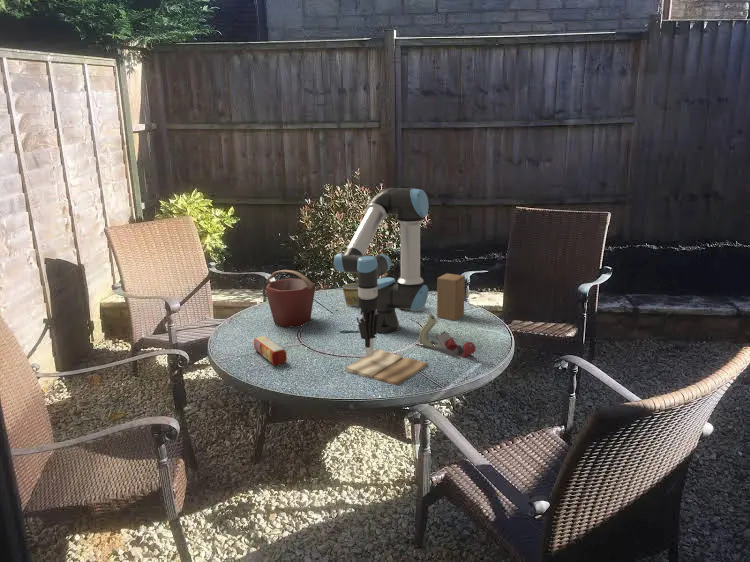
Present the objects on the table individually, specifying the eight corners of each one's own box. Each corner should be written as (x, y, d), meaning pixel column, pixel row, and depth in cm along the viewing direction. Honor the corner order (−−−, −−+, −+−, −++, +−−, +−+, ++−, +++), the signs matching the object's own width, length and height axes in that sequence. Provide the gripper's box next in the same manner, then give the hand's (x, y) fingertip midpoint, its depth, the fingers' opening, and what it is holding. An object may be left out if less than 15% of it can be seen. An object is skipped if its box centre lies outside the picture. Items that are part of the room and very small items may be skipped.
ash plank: (345, 371, 242) (345, 367, 241) (377, 353, 260) (377, 349, 259) (373, 381, 235) (373, 376, 235) (404, 361, 253) (404, 357, 252)
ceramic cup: (355, 308, 321) (354, 289, 318) (339, 305, 326) (338, 287, 324) (369, 302, 331) (368, 283, 329) (353, 299, 337) (353, 281, 334)
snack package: (253, 351, 267) (252, 336, 266) (267, 347, 271) (266, 333, 269) (272, 367, 250) (271, 351, 248) (288, 364, 253) (287, 348, 251)
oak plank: (374, 381, 235) (374, 376, 234) (405, 362, 252) (405, 357, 252) (397, 387, 229) (397, 382, 229) (427, 367, 247) (427, 362, 246)
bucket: (258, 321, 304) (255, 271, 297) (294, 310, 319) (291, 262, 313) (291, 332, 288) (288, 280, 281) (327, 320, 303) (325, 270, 297)
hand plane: (424, 340, 276) (424, 308, 272) (479, 360, 253) (480, 325, 249) (412, 344, 272) (412, 311, 268) (467, 365, 249) (468, 329, 245)
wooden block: (464, 315, 308) (465, 275, 303) (455, 320, 300) (456, 280, 295) (445, 311, 313) (446, 273, 308) (436, 317, 305) (437, 277, 300)
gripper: (366, 302, 234) (368, 361, 241) (385, 293, 245) (386, 350, 251) (350, 299, 238) (352, 357, 245) (369, 290, 249) (371, 346, 255)
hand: (369, 353), depth 248 cm, fingers closed
